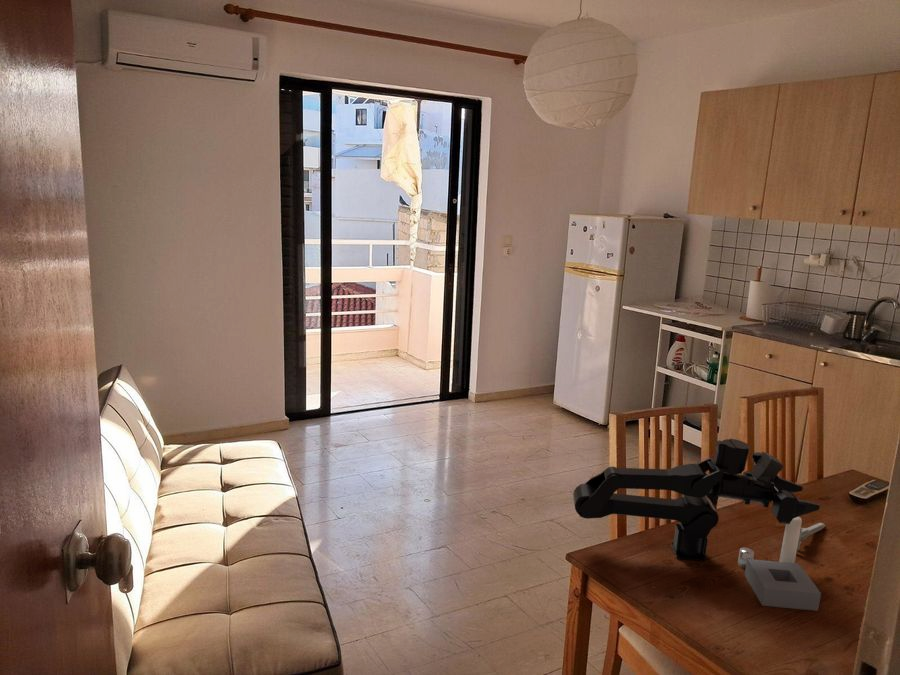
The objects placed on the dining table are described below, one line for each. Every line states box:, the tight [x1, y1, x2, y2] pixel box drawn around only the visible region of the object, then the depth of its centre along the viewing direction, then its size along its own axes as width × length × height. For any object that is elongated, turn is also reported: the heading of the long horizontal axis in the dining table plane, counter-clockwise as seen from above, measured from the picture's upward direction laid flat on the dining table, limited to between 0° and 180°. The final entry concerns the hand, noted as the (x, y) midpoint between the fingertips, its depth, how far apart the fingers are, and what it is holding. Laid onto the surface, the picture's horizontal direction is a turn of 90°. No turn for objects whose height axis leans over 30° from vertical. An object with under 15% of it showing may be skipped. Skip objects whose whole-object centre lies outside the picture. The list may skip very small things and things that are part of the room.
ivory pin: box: [778, 516, 803, 563], centre depth 150 cm, size 3×3×12 cm
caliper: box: [797, 522, 826, 552], centre depth 164 cm, size 20×1×6 cm, turn 133°
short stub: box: [737, 547, 755, 569], centre depth 151 cm, size 3×3×4 cm
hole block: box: [744, 559, 822, 612], centre depth 141 cm, size 11×11×4 cm
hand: (810, 497), depth 150 cm, fingers open, 9 cm apart
